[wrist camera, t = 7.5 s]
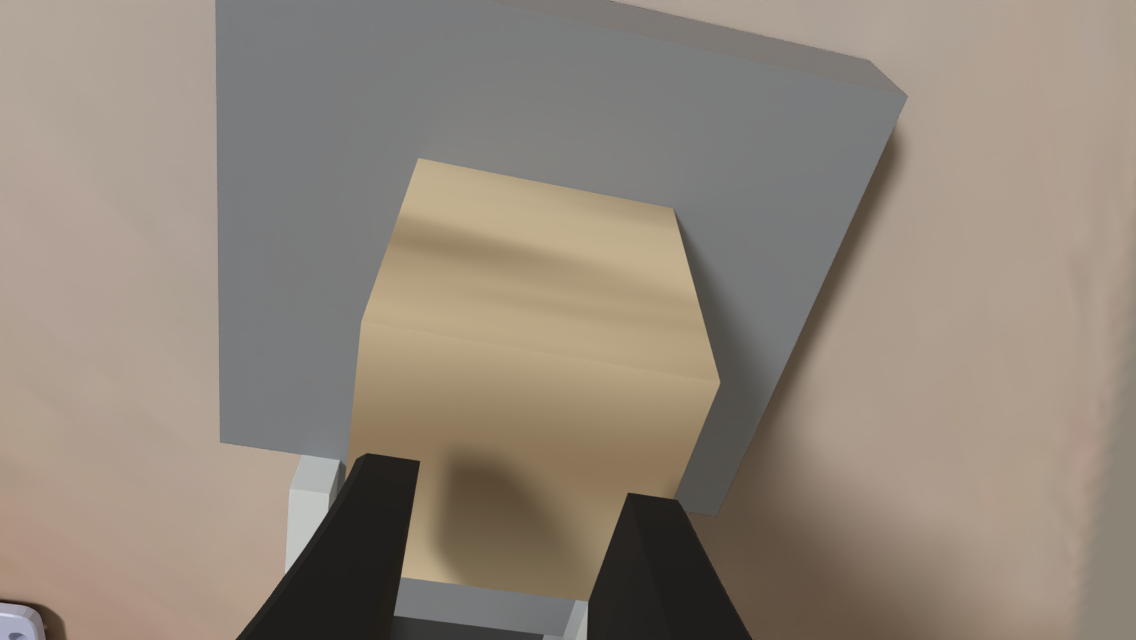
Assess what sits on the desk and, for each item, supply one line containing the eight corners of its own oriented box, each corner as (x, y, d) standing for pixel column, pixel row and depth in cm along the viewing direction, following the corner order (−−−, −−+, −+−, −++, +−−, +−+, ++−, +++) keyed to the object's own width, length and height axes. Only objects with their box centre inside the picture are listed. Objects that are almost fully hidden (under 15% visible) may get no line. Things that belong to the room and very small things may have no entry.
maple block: (610, 402, 17) (629, 606, 13) (391, 366, 16) (336, 568, 12) (673, 208, 15) (720, 382, 10) (418, 158, 14) (361, 320, 10)
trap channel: (584, 741, 28) (587, 837, 25) (244, 703, 26) (211, 802, 24) (869, 60, 15) (931, 117, 13) (255, -82, 14) (189, -49, 11)
